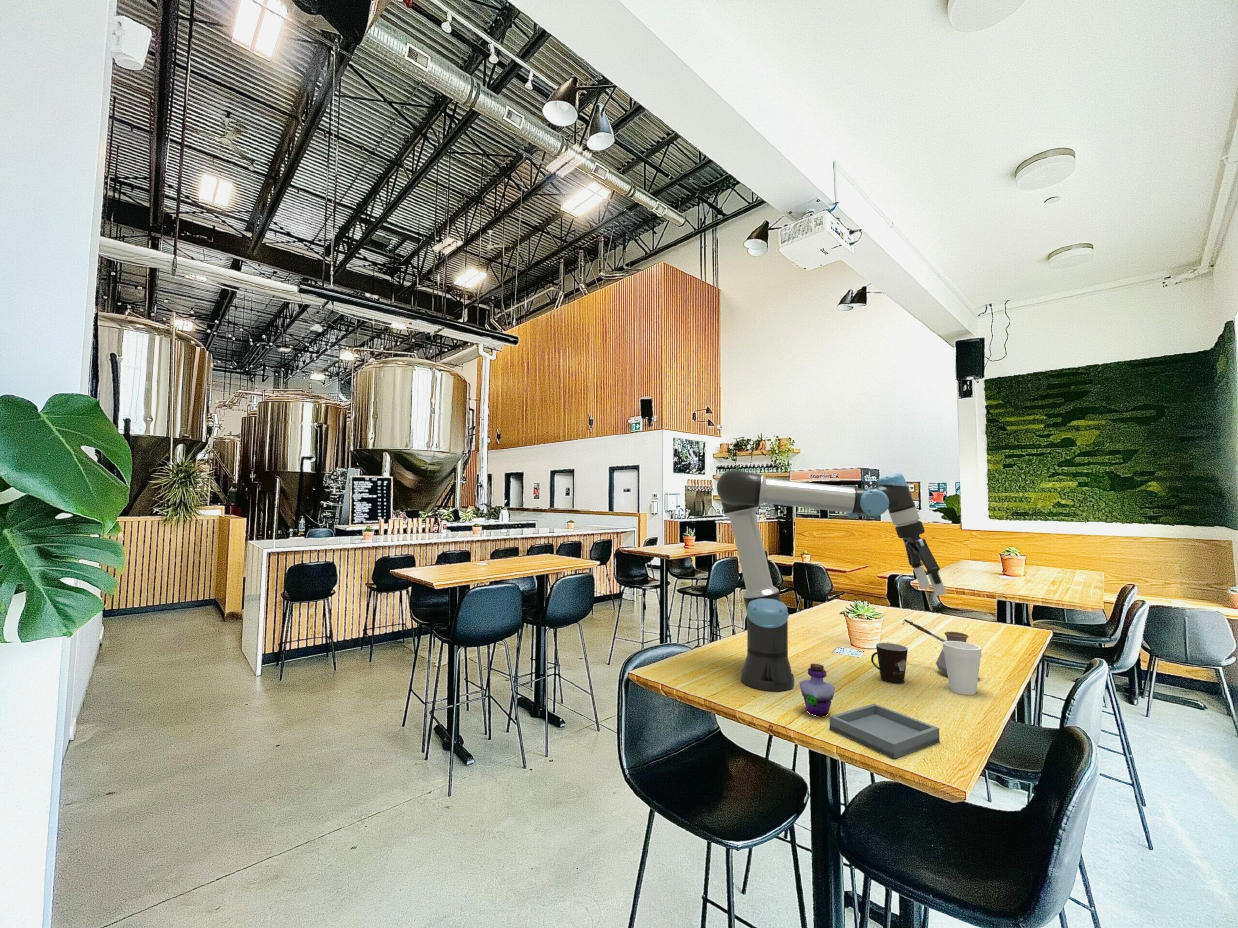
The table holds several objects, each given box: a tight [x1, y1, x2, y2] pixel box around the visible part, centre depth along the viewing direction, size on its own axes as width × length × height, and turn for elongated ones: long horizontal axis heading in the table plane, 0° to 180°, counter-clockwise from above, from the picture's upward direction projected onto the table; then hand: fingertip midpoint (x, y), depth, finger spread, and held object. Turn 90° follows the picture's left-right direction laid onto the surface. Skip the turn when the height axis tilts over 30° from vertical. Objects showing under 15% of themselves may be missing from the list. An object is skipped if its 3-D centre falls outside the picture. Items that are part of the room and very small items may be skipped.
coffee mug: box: [870, 642, 909, 685], centre depth 159 cm, size 12×9×10 cm
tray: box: [828, 703, 941, 760], centre depth 120 cm, size 16×17×3 cm
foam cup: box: [942, 640, 982, 696], centre depth 150 cm, size 10×9×13 cm
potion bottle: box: [799, 663, 836, 718], centre depth 133 cm, size 9×9×12 cm
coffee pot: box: [901, 618, 970, 677], centre depth 168 cm, size 21×12×15 cm, turn 45°
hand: (933, 591), depth 156 cm, fingers open, 13 cm apart
